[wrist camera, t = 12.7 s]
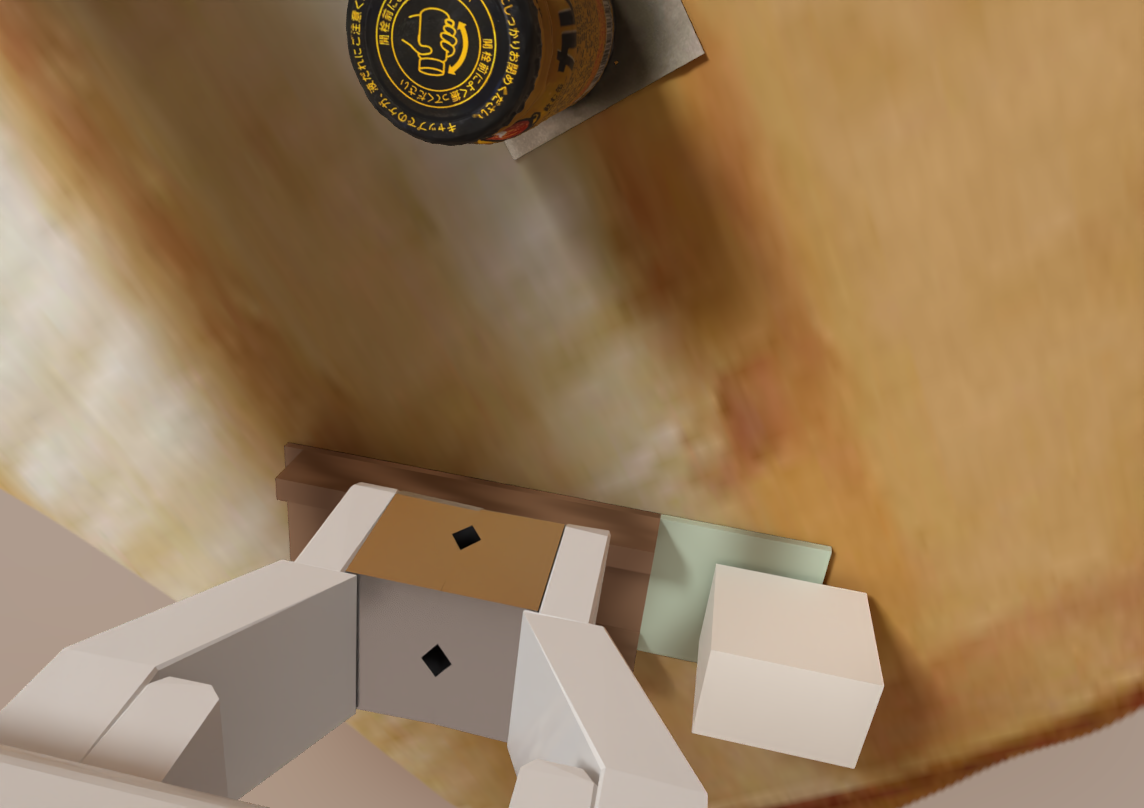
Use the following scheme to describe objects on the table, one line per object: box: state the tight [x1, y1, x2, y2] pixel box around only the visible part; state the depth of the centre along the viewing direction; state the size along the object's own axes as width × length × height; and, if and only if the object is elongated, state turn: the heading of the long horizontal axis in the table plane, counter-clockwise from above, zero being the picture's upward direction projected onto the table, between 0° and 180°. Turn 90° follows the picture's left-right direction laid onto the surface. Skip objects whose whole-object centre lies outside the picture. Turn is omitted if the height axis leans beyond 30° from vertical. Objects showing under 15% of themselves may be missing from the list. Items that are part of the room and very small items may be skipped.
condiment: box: [346, 0, 704, 160], centre depth 27 cm, size 7×8×12 cm
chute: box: [275, 443, 832, 672], centre depth 42 cm, size 27×8×3 cm, turn 84°
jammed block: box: [692, 564, 884, 769], centre depth 39 cm, size 7×5×6 cm
